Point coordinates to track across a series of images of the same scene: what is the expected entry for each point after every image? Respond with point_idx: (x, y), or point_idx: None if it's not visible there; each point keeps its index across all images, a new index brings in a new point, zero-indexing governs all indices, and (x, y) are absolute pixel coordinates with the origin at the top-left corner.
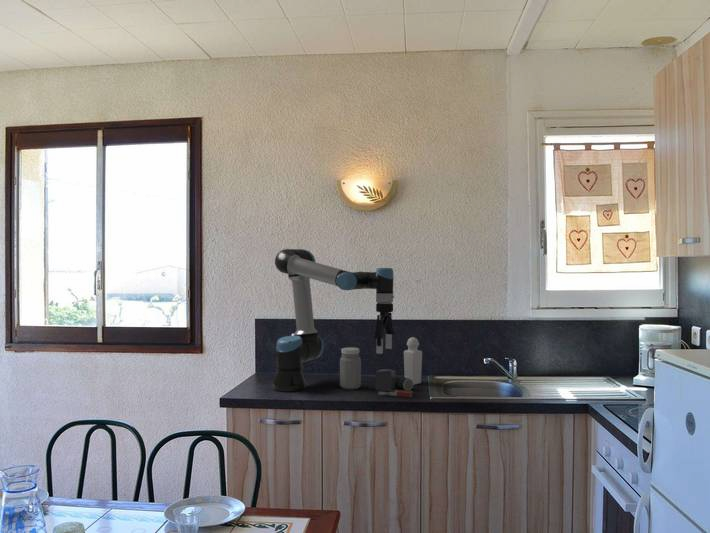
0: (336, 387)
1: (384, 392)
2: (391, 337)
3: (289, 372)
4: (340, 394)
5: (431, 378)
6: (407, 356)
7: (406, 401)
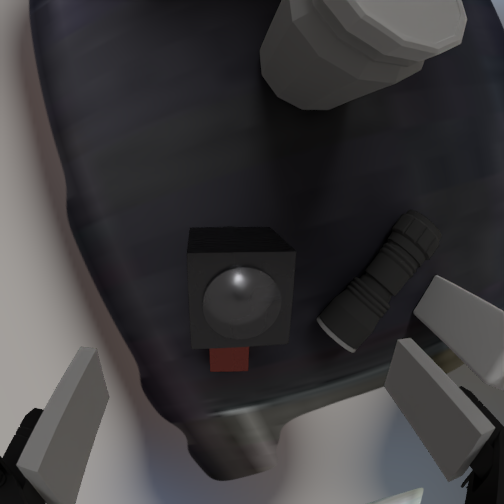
0: None
1: None
2: (435, 459)
3: None
4: (159, 67)
5: None
6: (494, 337)
7: (152, 359)
